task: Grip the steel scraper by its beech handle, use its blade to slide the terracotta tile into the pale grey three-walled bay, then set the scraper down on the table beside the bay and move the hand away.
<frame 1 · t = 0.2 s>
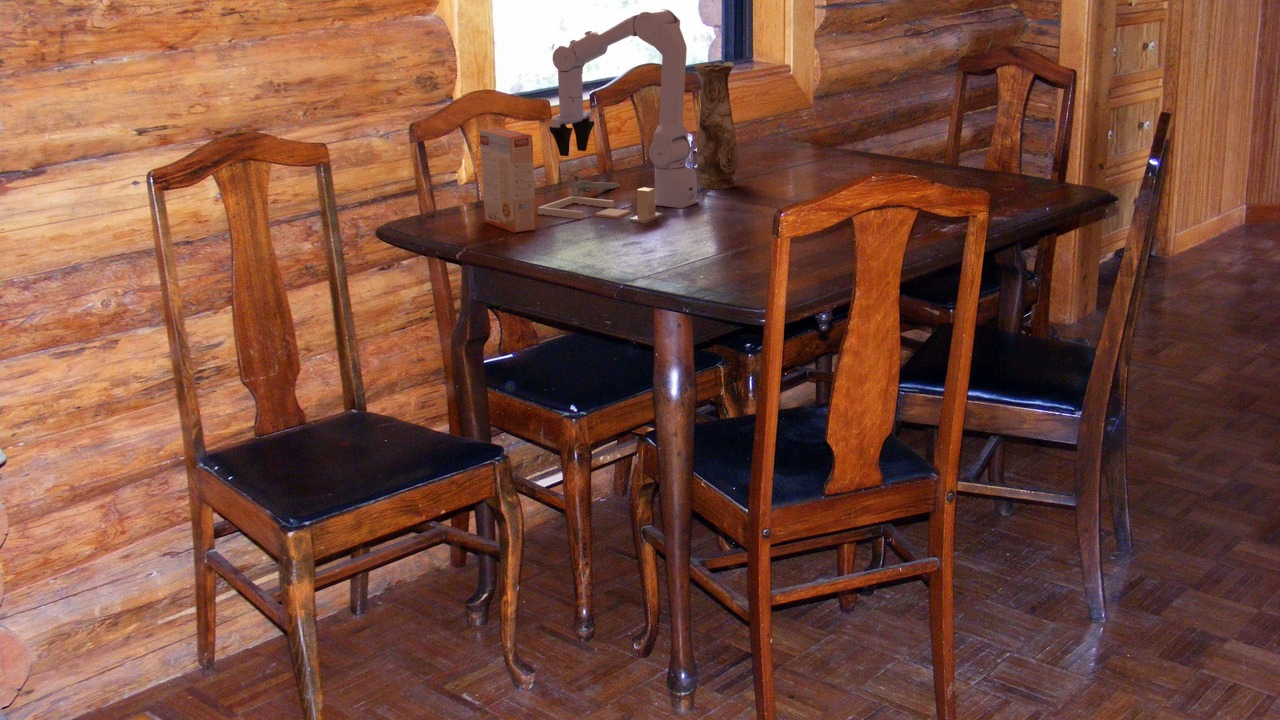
hand: (573, 153, 309), 10 cm above the table, fingers open, 7 cm apart
caliper: (597, 195, 312), on the table
tile: (612, 217, 289), on the table
vase: (716, 186, 318), on the table
bay: (576, 210, 294), on the table
scraper: (646, 219, 285), on the table
cracker box: (510, 227, 280), on the table
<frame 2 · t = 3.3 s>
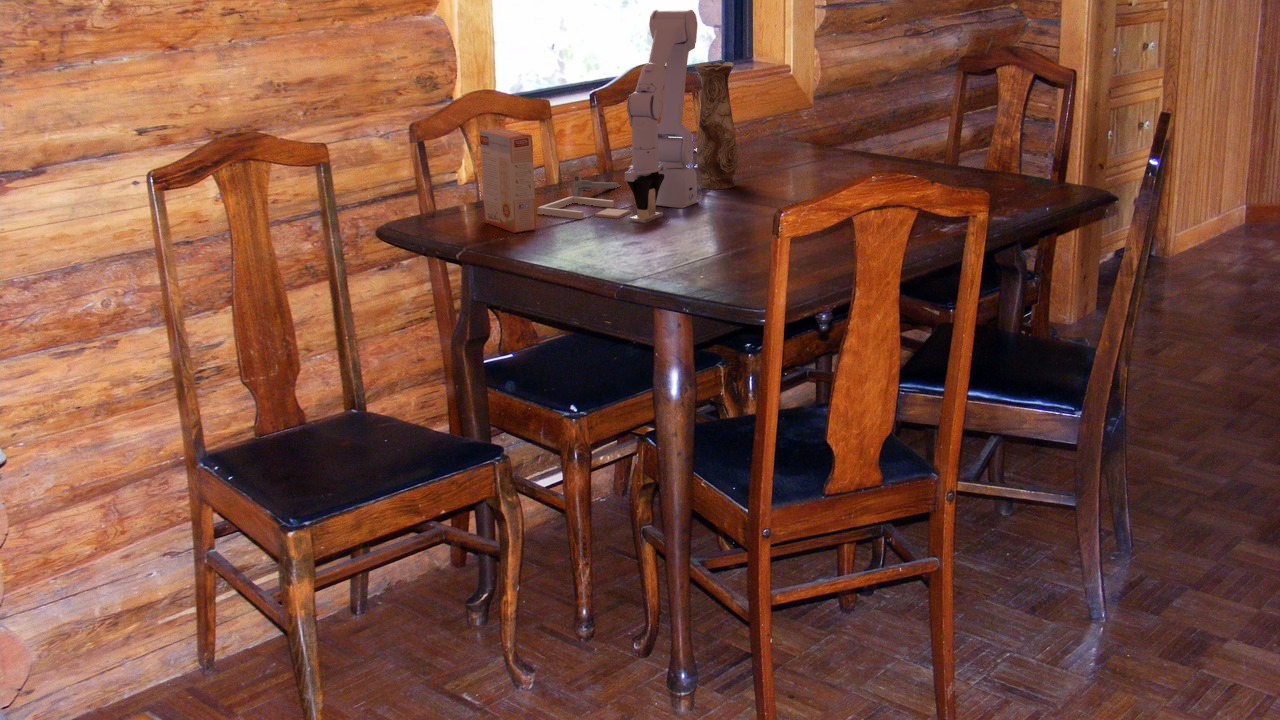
hand: (646, 207, 284), 2 cm above the table, fingers closed on scraper, 3 cm apart
scraper: (646, 218, 285), on the table, touching gripper
everything else where it was.
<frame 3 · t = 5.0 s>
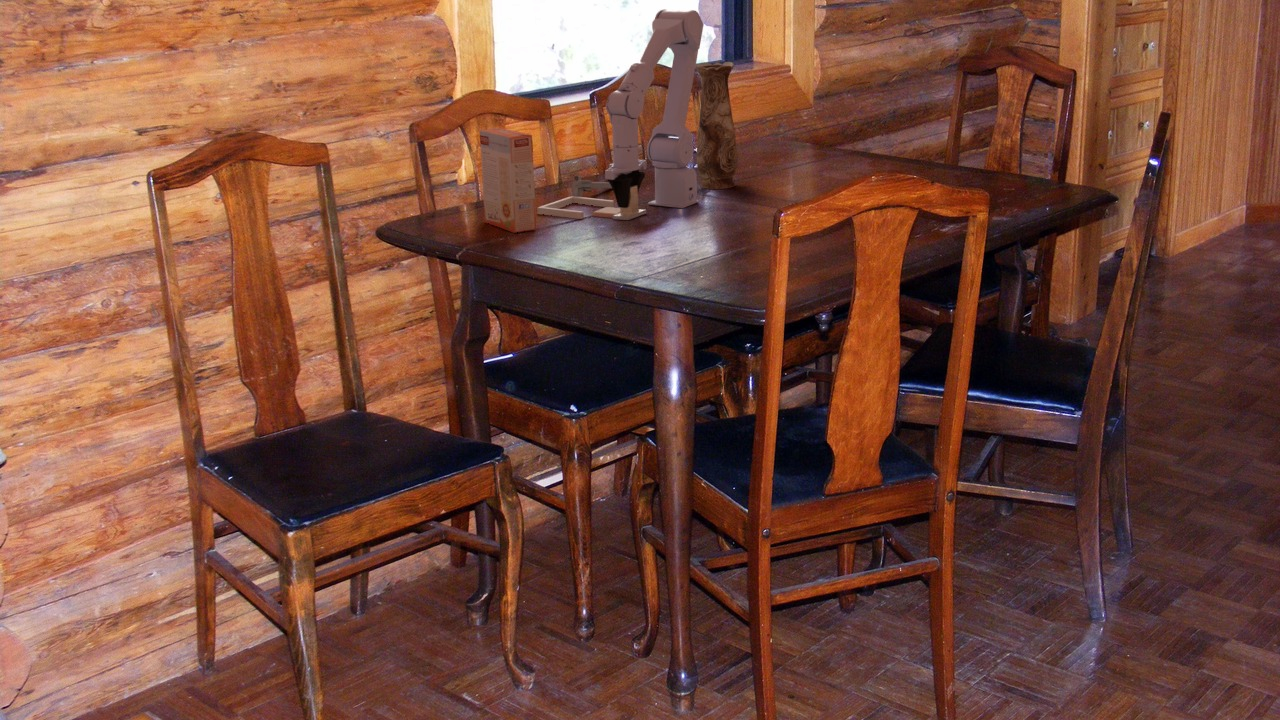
hand: (627, 205, 286), 2 cm above the table, fingers closed on scraper, 3 cm apart
scraper: (629, 216, 287), on the table, touching gripper
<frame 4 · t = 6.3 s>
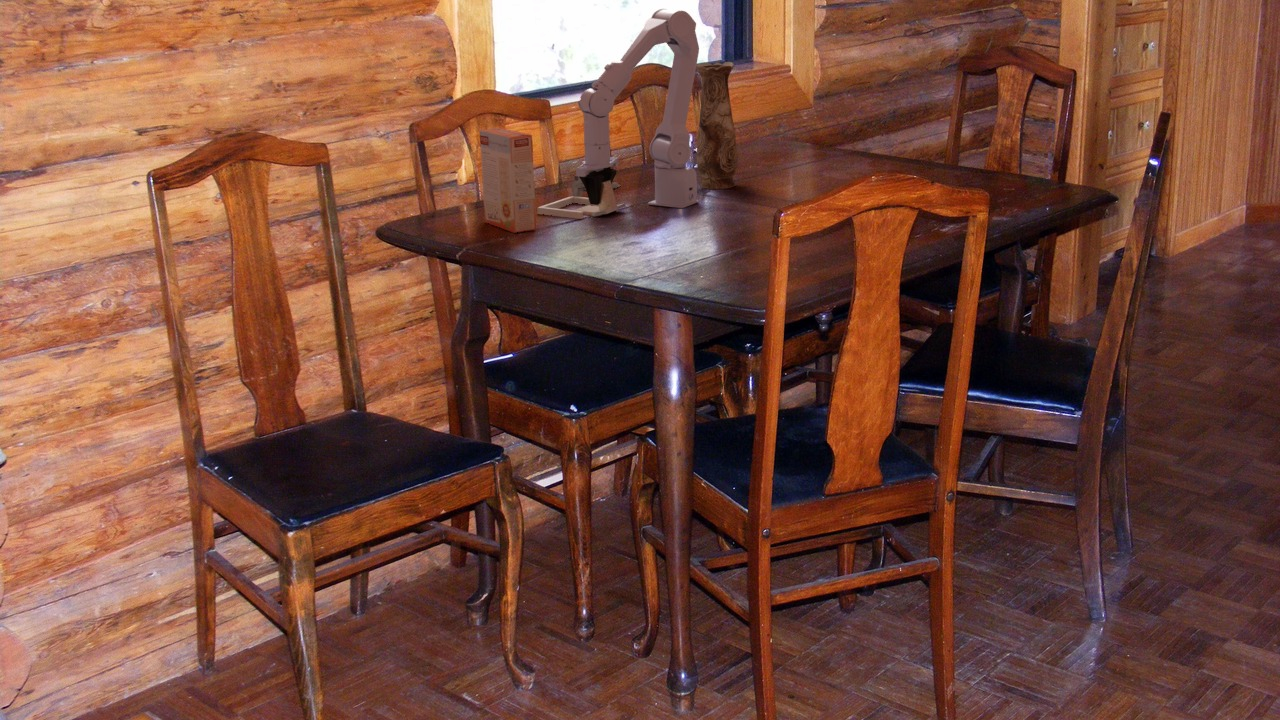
hand: (598, 202, 290), 2 cm above the table, fingers closed on scraper, 3 cm apart
tile: (591, 213, 292), on the table, touching scraper
scraper: (609, 211, 289), point 1 cm above the table, tilted 16°, touching gripper, tile
everything else where it was.
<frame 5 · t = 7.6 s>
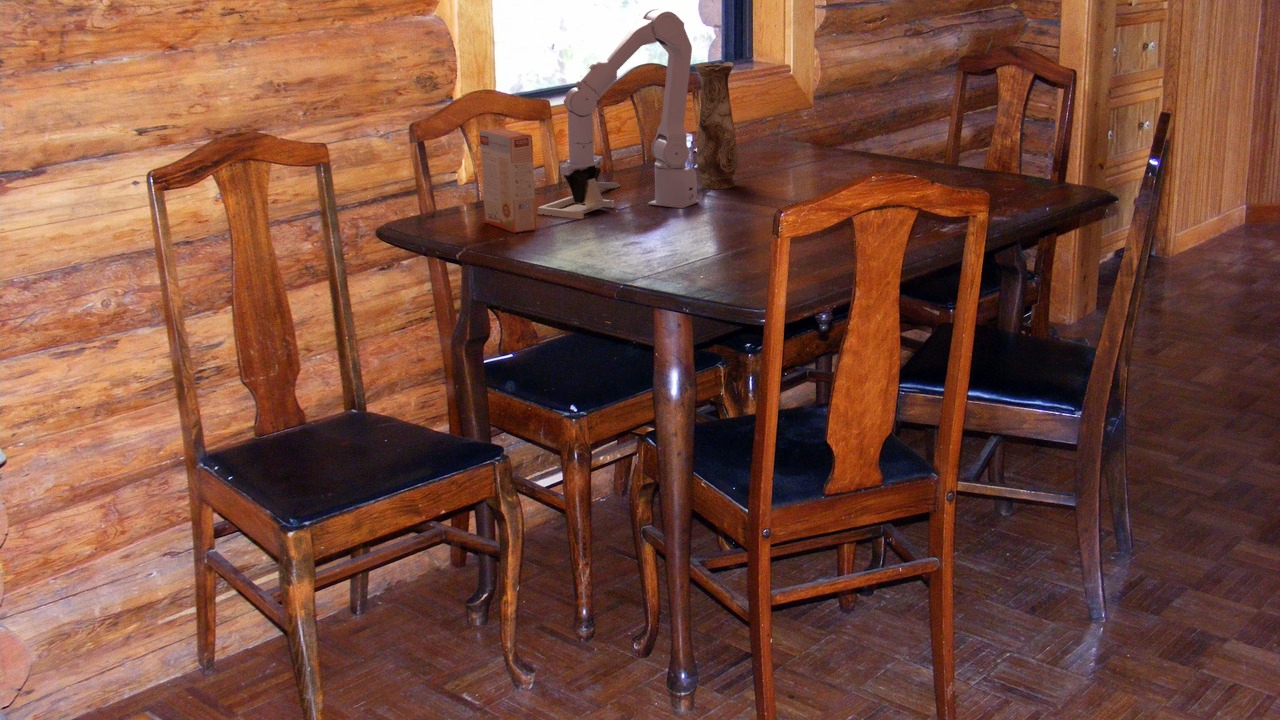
hand: (583, 201, 292), 2 cm above the table, fingers closed on scraper, 3 cm apart
tile: (579, 212, 294), on the table
scraper: (596, 209, 291), point 1 cm above the table, tilted 22°, touching gripper
everything else where it was.
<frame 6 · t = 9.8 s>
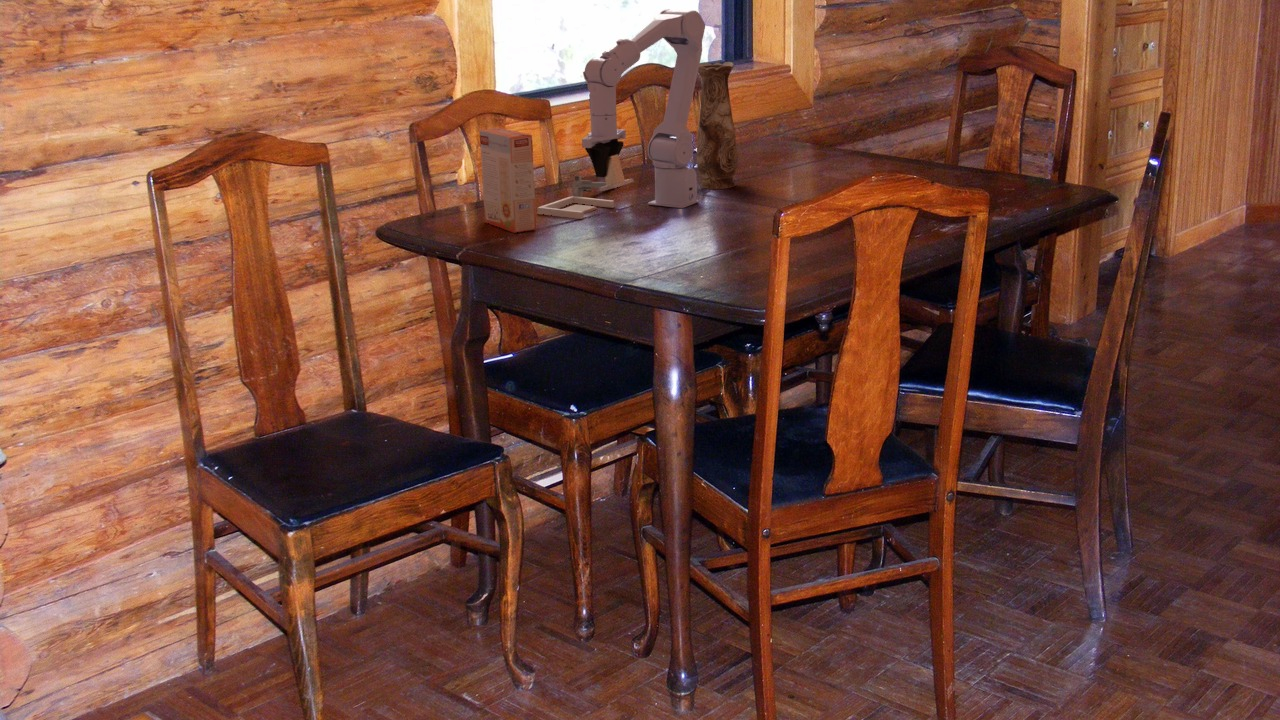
hand: (605, 175, 283), 10 cm above the table, fingers closed on scraper, 3 cm apart
scraper: (616, 186, 282), point 7 cm above the table, tilted 16°, touching gripper
everything else where it was.
when the fingers open (3 cm above the table, at t = 11.7 s): scraper stays where it is, on the table.
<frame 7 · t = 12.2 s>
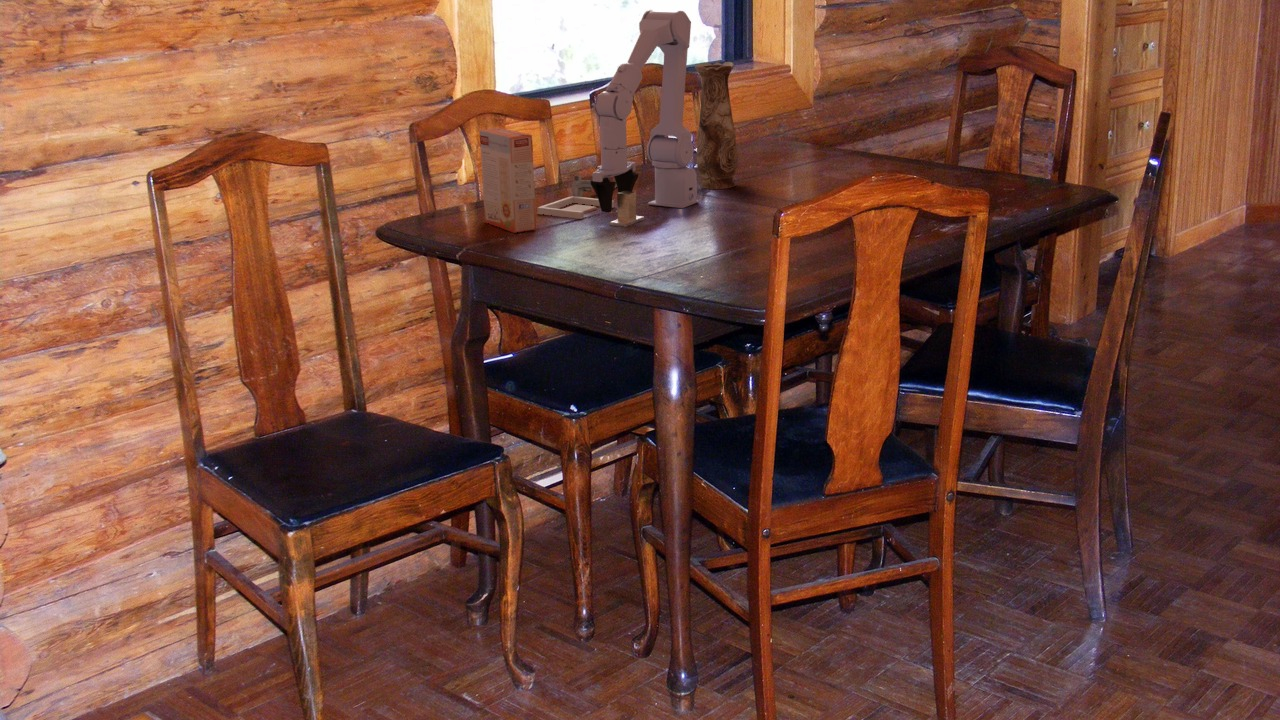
hand: (615, 208, 282), 3 cm above the table, fingers open, 7 cm apart
scraper: (627, 222, 282), on the table
everything else where it was.
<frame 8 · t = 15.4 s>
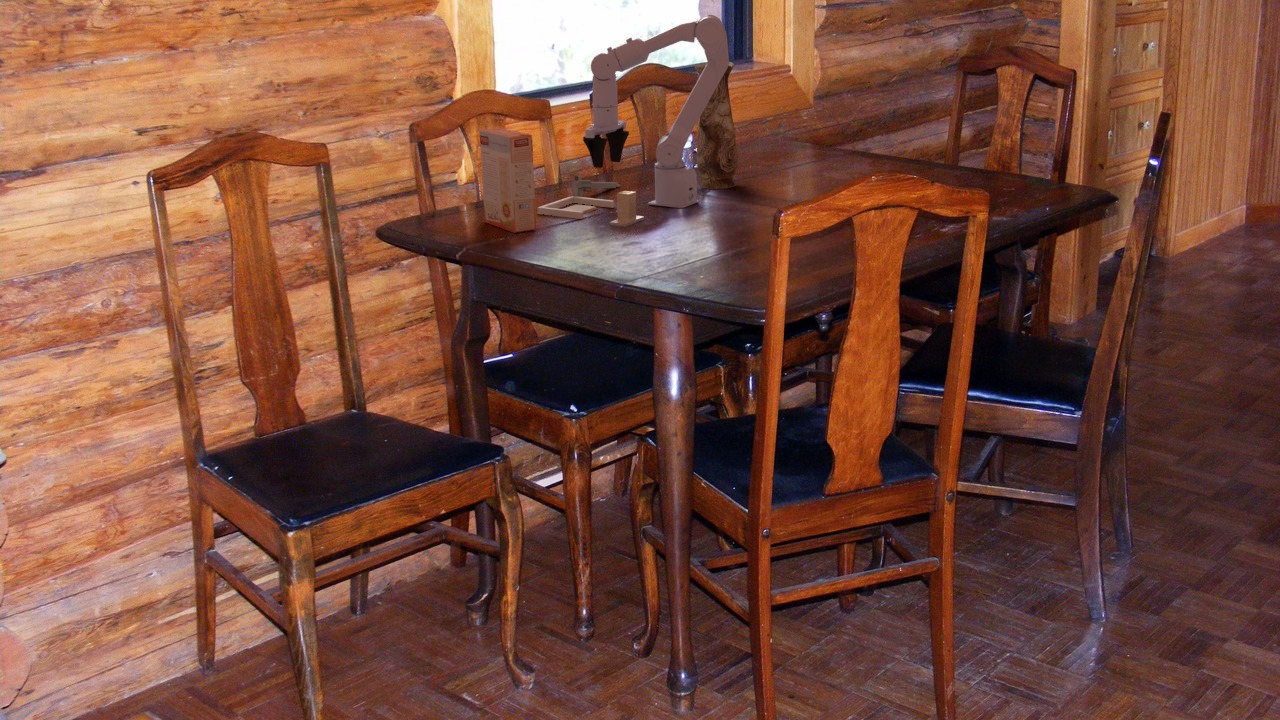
hand: (607, 164, 297), 9 cm above the table, fingers open, 7 cm apart
nothing on the table moved.
at the end: tile 0.6 cm off-centre on the bay, point -0.6 cm above the bay's base; the gripper is holding nothing; scraper on the table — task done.
